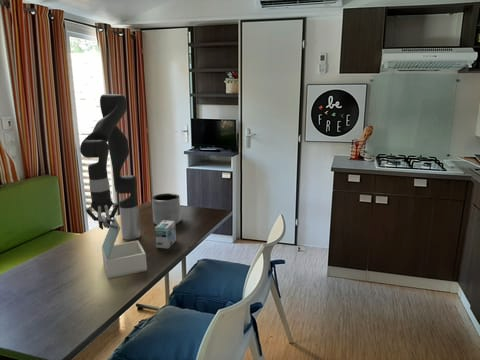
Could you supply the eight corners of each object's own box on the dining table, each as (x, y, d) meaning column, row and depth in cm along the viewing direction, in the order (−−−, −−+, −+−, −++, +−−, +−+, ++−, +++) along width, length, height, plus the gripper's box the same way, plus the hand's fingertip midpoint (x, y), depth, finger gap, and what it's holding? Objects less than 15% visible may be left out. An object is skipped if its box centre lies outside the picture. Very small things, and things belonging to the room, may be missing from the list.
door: (103, 246, 161) (89, 243, 158) (115, 217, 161) (101, 213, 158) (107, 259, 148) (92, 256, 145) (120, 228, 148) (105, 224, 145)
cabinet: (103, 263, 163) (101, 246, 161) (139, 256, 170) (138, 240, 168) (108, 279, 149) (106, 261, 148) (147, 270, 156) (145, 253, 154)
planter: (178, 226, 207) (176, 200, 203) (150, 227, 207) (148, 200, 203) (183, 217, 222) (181, 192, 219) (156, 217, 222) (155, 193, 219)
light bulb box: (168, 248, 178) (167, 228, 175) (155, 247, 179) (154, 227, 177) (176, 240, 188) (175, 220, 186) (164, 239, 189) (163, 219, 187)
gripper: (116, 184, 154) (120, 222, 159) (81, 189, 149) (86, 228, 153) (118, 188, 148) (123, 228, 152) (82, 193, 142) (88, 234, 146)
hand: (105, 228), depth 152 cm, fingers closed, pressing on door
